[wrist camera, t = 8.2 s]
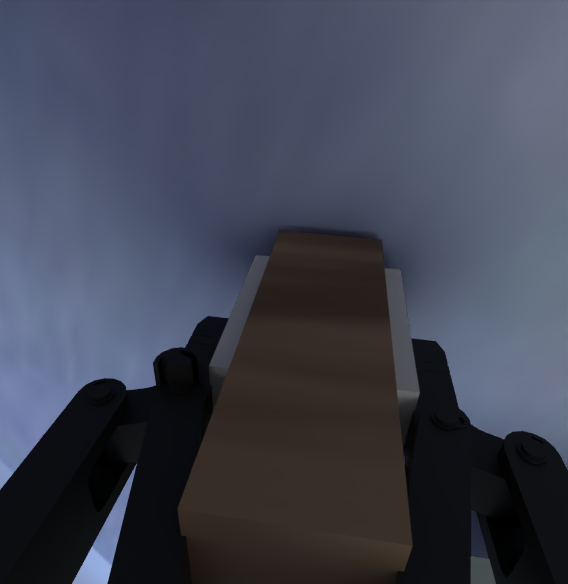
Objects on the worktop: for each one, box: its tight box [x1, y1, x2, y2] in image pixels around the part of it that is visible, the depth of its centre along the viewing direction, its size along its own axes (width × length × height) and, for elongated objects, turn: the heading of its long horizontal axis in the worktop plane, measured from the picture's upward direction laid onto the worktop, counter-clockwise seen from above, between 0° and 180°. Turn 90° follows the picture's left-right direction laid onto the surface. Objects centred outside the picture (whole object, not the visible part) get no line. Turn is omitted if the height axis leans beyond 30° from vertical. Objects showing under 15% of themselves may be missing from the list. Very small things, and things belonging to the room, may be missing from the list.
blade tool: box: [178, 230, 413, 584], centre depth 18 cm, size 20×4×12 cm, turn 178°
